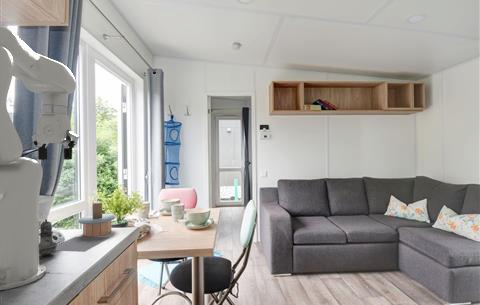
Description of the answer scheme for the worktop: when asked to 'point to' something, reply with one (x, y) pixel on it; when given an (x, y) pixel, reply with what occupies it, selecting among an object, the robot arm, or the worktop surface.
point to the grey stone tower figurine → (46, 241)
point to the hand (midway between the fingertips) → (55, 159)
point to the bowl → (96, 229)
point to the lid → (97, 215)
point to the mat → (80, 243)
